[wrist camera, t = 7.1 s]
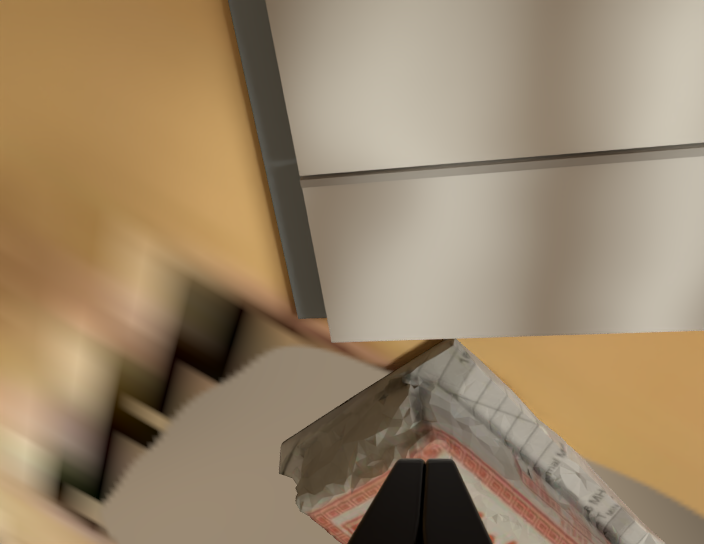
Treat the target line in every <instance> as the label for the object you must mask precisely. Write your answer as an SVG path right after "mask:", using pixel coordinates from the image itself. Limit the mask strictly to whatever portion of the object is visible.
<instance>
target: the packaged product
mask: <svg viewBox="0 0 704 544" xmlns="http://www.w3.org/2000/svg"><path fill="white" fill-rule="evenodd" d="M402 458H421V459H423V460H424V461H425V463H426V461H427V460H428V459H431V458H443V459H452V460H453V461H454V462H455V464H456V466H457V468H458V470H459V472H460V474H461V476H462V478H463V481H464V483H465V485H466V487H467V489H468V491H469V493H470V495H471V498H472V500H473V502H474V504H475V506H476V508H477V510H478V513H479V515H480V517H481V519H482V521H483V523H484V525H485V528H486V530H487V532H488V534H489V536H490V538H491V540H492V543H493V544H666V543H665V542H663V541H662V540H661V539H660V538H659V537H658V536H657V535H656V534H655V533H654V532H652V531H651V530H650V529H649V528H648V527H647V526H646V525H645V524H644V523H643V522H642V521H641V520H640V519H639V518H638V517H637V516H636V515H635V514H634V513H633V512H632V511H631V509H629V507H628V506H627V505H626V504H625V503H624V502H623V501H622V500H621V499H620V498H619V497H618V496H617V495H616V494H615V493H614V492H613V490H612V489H611V488H610V487H609V486H608V485H607V484H606V483H605V482H604V481H603V480H602V479H601V478H600V477H599V476H598V475H597V473H595V471H594V470H593V469H592V468H591V467H590V465H589V464H588V463H587V461H586V460H585V459H584V458H582V457H581V456H580V455H579V454H578V453H577V452H576V451H575V450H574V449H573V448H571V447H570V446H569V445H567V444H566V441H564V440H563V439H562V438H561V437H560V436H559V435H557V434H556V433H555V432H554V431H552V430H551V429H550V428H549V427H547V426H546V425H545V424H544V423H542V422H541V421H540V420H539V419H537V417H536V416H535V415H534V414H533V413H532V412H531V411H530V410H529V408H528V407H527V406H526V405H525V404H524V403H523V402H522V401H521V400H520V399H519V398H518V397H517V395H516V394H515V393H514V392H513V391H512V390H511V389H510V388H509V387H508V386H507V385H506V384H505V383H503V382H502V381H501V380H500V379H499V378H498V377H497V376H496V375H495V374H494V373H493V372H492V371H491V370H490V369H489V368H488V367H487V366H486V365H484V364H483V363H482V362H481V361H480V360H479V359H478V358H477V357H476V356H475V355H474V354H473V353H471V352H470V351H469V350H468V349H467V348H466V347H465V346H463V345H462V344H461V343H460V342H459V341H458V340H457V339H456V338H455V339H445V340H444V341H442V342H440V343H439V344H437V345H435V346H434V347H432V348H431V349H429V350H427V351H426V352H424V353H423V354H421V355H419V356H418V357H416V358H415V359H413V360H411V361H410V362H408V363H407V364H405V365H403V366H402V367H400V368H399V369H397V370H395V371H394V372H392V373H390V374H388V375H386V376H385V377H383V378H382V379H380V380H379V381H377V382H375V383H374V384H372V385H371V386H369V387H367V388H366V389H364V390H363V391H361V392H359V393H358V394H356V395H354V396H353V397H351V398H350V399H348V400H347V401H345V402H344V403H342V404H341V405H339V406H337V407H336V408H334V409H333V410H331V411H330V412H328V413H327V414H325V415H324V416H322V417H321V418H319V419H318V420H316V421H314V422H313V423H311V424H310V425H308V426H307V427H305V428H304V429H302V430H301V431H299V432H298V433H296V434H295V435H293V436H291V437H290V438H288V439H287V440H285V441H284V442H283V443H282V445H281V452H280V467H279V474H282V475H285V476H288V477H291V478H293V479H294V481H295V482H296V484H297V486H296V490H297V493H298V494H297V496H296V504H297V506H298V508H299V509H300V511H301V512H302V513H304V514H306V515H308V516H310V517H311V519H312V520H314V521H315V522H317V523H318V524H319V525H320V526H322V527H323V528H324V529H325V530H326V531H327V532H328V533H329V534H330V535H332V536H333V537H334V538H335V539H336V540H338V541H339V542H341V543H342V544H347V543H348V541H349V539H350V538H351V536H352V534H353V533H354V531H355V529H356V528H357V526H358V524H359V523H360V521H361V519H362V518H363V516H364V514H365V513H366V511H367V509H368V508H369V506H370V504H371V503H372V501H373V499H374V498H375V496H376V494H377V493H378V491H379V489H380V488H381V486H382V484H383V483H384V481H385V479H386V478H387V476H388V474H389V473H390V471H391V469H392V468H393V466H394V464H395V463H396V461H397V460H399V459H402Z"/></svg>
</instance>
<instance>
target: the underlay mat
mask: <svg viewBox="0 0 704 544" xmlns="http://www.w3.org/2000/svg"><path fill="white" fill-rule="evenodd" d="M228 2H229V7H230V11H231V16H232V21H233V25H234V30H235V34H236V39H237V43H238V48H239V52H240V57H241V61H242V66H243V70H244V75H245V79H246V84H247V88H248V93H249V98H250V102H251V107H252V111H253V116H254V120H255V125H256V129H257V134H258V138H259V143H260V147H261V152H262V156H263V161H264V165H265V170H266V175H267V179H268V184H269V188H270V193H271V197H272V202H273V206H274V211H275V215H276V220H277V224H278V229H279V233H280V238H281V242H282V247H283V252H284V256H285V261H286V265H287V270H288V274H289V279H290V283H291V288H292V292H293V297H294V301H295V306H296V310H297V315H298V319H306V318H327V315H326V310H325V304H324V299H323V294H322V289H321V284H320V278H319V273H318V268H317V263H316V258H315V252H314V247H313V242H312V237H311V232H310V227H309V221H308V216H307V211H306V206H305V201H304V195H303V190H302V188H301V185H300V179H301V177H302V176H300V175H299V170H298V165H297V159H296V154H295V149H294V144H293V139H292V134H291V129H290V124H289V119H288V114H287V109H286V103H285V98H284V93H283V88H282V83H281V78H280V73H279V68H278V63H277V58H276V53H275V47H274V42H273V37H272V32H271V27H270V22H269V17H268V12H267V7H266V2H265V0H228Z"/></svg>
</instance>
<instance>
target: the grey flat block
mask: <svg viewBox="0 0 704 544" xmlns="http://www.w3.org/2000/svg"><path fill="white" fill-rule="evenodd" d="M300 185H301V188H302V190H303V195H304V201H305V206H306V211H307V216H308V221H309V227H310V232H311V237H312V242H313V247H314V252H315V258H316V263H317V268H318V273H319V278H320V284H321V289H322V294H323V299H324V304H325V310H326V315H327V320H328V325H329V330H330V336H331V341H332V342H362V341H393V340H424V339H455V338H486V337H517V336H548V335H579V334H610V333H641V332H672V331H703V330H704V142H703V143H691V144H679V145H667V146H655V147H643V148H631V149H619V150H607V151H595V152H583V153H571V154H559V155H547V156H535V157H523V158H510V159H498V160H486V161H474V162H462V163H450V164H438V165H426V166H414V167H402V168H390V169H378V170H366V171H354V172H342V173H330V174H317V175H305V176H302V177H301V179H300Z"/></svg>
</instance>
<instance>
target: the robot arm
mask: <svg viewBox="0 0 704 544" xmlns="http://www.w3.org/2000/svg"><path fill="white" fill-rule="evenodd" d="M347 544H493V543H492V540H491V538H490V536H489V534H488V532H487V530H486V528H485V525H484V523H483V521H482V519H481V517H480V515H479V513H478V510H477V508H476V506H475V504H474V502H473V500H472V498H471V495H470V493H469V491H468V489H467V487H466V485H465V483H464V481H463V478H462V476H461V474H460V472H459V470H458V468H457V466H456V464H455V462H454V461H453V460H452V459H443V458H431V459H428V460H427V461H426V463H425V461H424V460H423V459H421V458H402V459H399V460H397V461H396V463H395V464H394V466H393V468H392V469H391V471H390V473H389V474H388V476H387V478H386V479H385V481H384V483H383V484H382V486H381V488H380V489H379V491H378V493H377V494H376V496H375V498H374V499H373V501H372V503H371V504H370V506H369V508H368V509H367V511H366V513H365V514H364V516H363V518H362V519H361V521H360V523H359V524H358V526H357V528H356V529H355V531H354V533H353V534H352V536H351V538H350V539H349V541H348V543H347Z"/></svg>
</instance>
